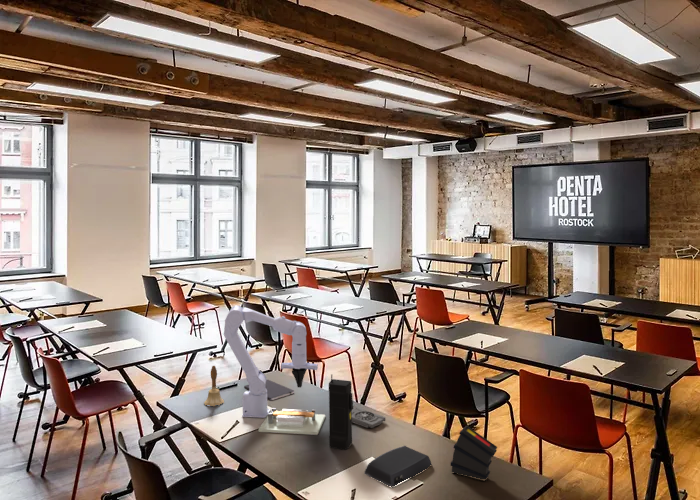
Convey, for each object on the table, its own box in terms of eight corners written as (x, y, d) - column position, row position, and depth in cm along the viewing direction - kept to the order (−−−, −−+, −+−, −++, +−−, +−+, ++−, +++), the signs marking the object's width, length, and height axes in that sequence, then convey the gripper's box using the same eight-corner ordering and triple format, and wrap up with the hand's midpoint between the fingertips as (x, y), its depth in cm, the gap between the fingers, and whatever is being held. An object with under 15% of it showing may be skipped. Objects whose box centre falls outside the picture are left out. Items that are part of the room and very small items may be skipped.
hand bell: (226, 399, 227) (225, 362, 226) (221, 406, 219) (220, 368, 217) (206, 399, 227) (205, 363, 226) (201, 406, 219) (200, 369, 217)
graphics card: (334, 413, 204) (354, 403, 213) (334, 422, 204) (355, 412, 213) (367, 425, 193) (388, 415, 202) (367, 435, 193) (388, 424, 202)
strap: (269, 416, 201) (269, 413, 201) (271, 413, 204) (271, 410, 204) (312, 418, 199) (312, 414, 198) (314, 415, 201) (314, 411, 201)
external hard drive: (362, 474, 165) (361, 461, 165) (403, 453, 178) (403, 442, 178) (393, 490, 156) (393, 477, 155) (434, 467, 169) (434, 455, 169)
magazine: (445, 461, 169) (465, 424, 164) (481, 488, 163) (504, 450, 159) (441, 466, 166) (461, 428, 161) (478, 494, 160) (500, 456, 156)
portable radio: (355, 443, 185) (355, 373, 183) (349, 450, 180) (349, 378, 177) (334, 439, 188) (333, 371, 186) (328, 447, 182) (327, 376, 180)
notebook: (244, 389, 241) (271, 401, 225) (244, 385, 241) (271, 398, 225) (267, 382, 250) (295, 394, 234) (267, 379, 249) (294, 390, 234)
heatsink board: (258, 431, 195) (258, 418, 194) (270, 414, 211) (270, 402, 210) (317, 434, 192) (317, 421, 192) (325, 417, 208) (325, 404, 207)
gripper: (278, 355, 208) (279, 389, 209) (315, 356, 206) (315, 390, 207) (283, 350, 215) (283, 383, 216) (318, 351, 213) (318, 384, 214)
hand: (299, 386), depth 212 cm, fingers closed
